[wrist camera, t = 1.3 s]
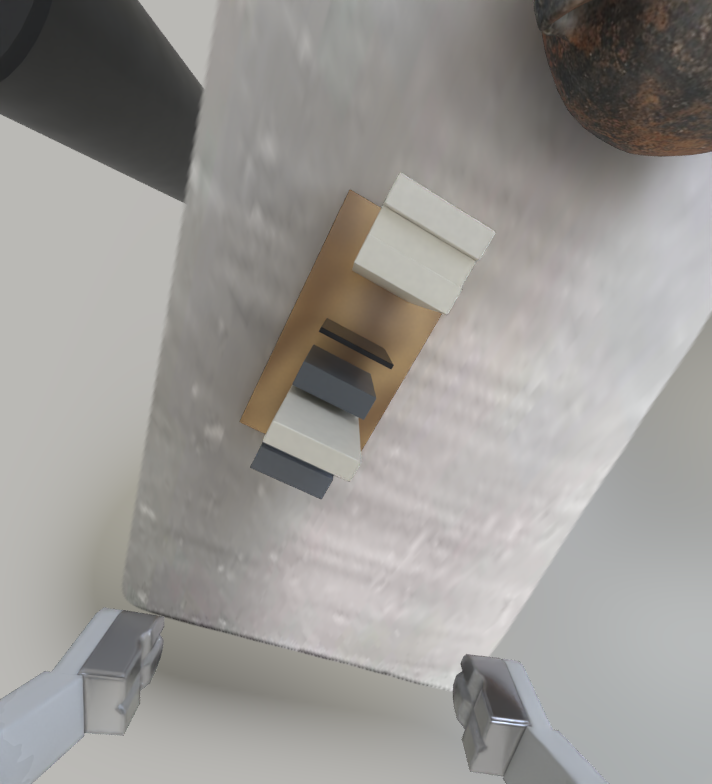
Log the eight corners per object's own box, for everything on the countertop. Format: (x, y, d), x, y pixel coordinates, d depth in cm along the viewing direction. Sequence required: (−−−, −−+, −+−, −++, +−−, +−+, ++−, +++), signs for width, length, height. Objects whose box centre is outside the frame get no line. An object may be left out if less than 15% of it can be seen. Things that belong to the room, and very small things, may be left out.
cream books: (351, 270, 31) (353, 262, 19) (378, 216, 30) (399, 170, 18) (409, 302, 32) (447, 315, 20) (437, 252, 31) (497, 231, 19)
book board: (242, 418, 36) (239, 422, 35) (349, 191, 31) (349, 188, 30) (348, 468, 38) (348, 473, 37) (468, 263, 32) (472, 262, 31)
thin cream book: (293, 384, 34) (261, 442, 22) (300, 369, 34) (272, 420, 21) (349, 412, 35) (349, 482, 23) (357, 398, 35) (362, 462, 22)
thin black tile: (324, 321, 33) (318, 331, 26) (326, 317, 33) (321, 326, 26) (382, 352, 34) (391, 369, 27) (384, 348, 33) (394, 365, 27)
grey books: (272, 425, 35) (250, 467, 27) (313, 344, 33) (301, 364, 25) (327, 451, 36) (321, 499, 28) (370, 373, 34) (377, 402, 26)
